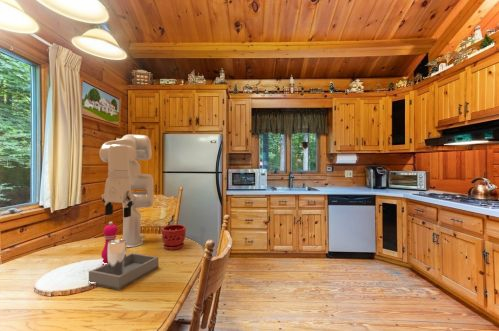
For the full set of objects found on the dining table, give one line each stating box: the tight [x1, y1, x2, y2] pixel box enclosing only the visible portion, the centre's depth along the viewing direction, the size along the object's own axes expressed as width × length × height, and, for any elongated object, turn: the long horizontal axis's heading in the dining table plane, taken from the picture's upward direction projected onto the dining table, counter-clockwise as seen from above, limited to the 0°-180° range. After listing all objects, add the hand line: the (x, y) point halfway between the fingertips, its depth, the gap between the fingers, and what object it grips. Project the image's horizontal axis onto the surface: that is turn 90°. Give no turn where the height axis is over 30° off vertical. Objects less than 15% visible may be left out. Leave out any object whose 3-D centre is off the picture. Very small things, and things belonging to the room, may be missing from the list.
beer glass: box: [107, 238, 127, 275], centre depth 101 cm, size 7×7×15 cm
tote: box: [88, 252, 160, 291], centre depth 105 cm, size 22×15×5 cm
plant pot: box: [161, 224, 187, 251], centre depth 142 cm, size 13×13×12 cm
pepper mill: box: [101, 221, 118, 263], centre depth 119 cm, size 7×7×20 cm
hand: (118, 215), depth 101 cm, fingers open, 9 cm apart
